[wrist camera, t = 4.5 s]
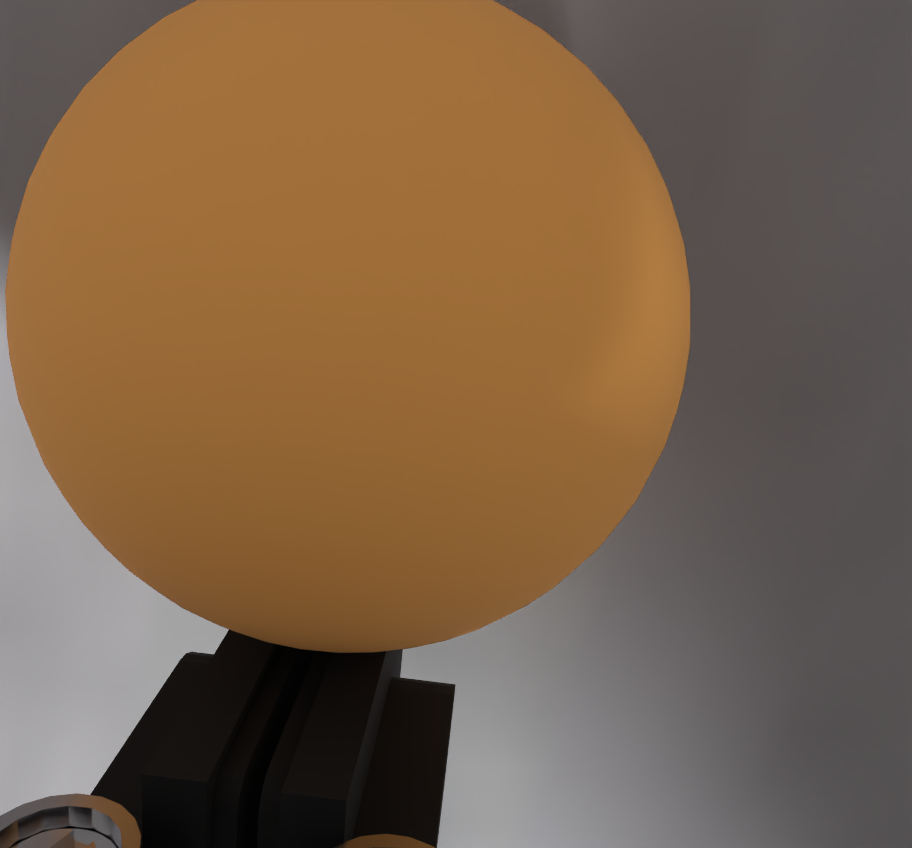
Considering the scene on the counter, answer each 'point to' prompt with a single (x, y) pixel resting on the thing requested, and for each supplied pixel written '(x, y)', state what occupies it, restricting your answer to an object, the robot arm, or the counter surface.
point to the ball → (348, 315)
